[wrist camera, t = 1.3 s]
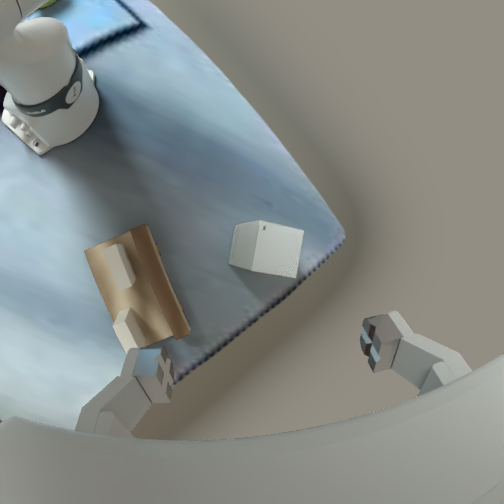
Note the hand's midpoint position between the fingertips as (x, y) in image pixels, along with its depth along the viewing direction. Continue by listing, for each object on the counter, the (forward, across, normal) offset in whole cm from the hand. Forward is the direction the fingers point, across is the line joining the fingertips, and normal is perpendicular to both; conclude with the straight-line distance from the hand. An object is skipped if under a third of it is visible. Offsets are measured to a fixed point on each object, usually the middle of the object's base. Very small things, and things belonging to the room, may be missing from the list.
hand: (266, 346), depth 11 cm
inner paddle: (+32, +20, +11) cm, 39 cm away
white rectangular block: (+27, +21, +20) cm, 40 cm away
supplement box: (+39, -1, +15) cm, 42 cm away
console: (+31, +20, +16) cm, 40 cm away
